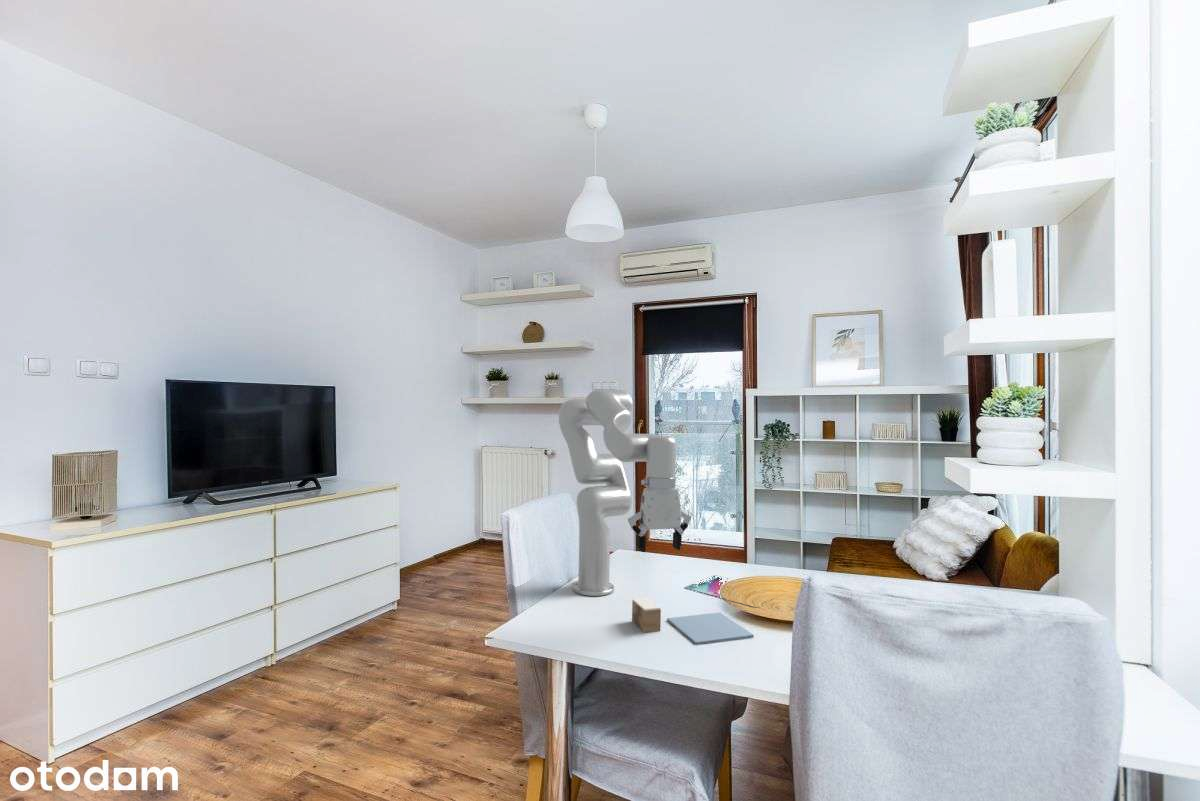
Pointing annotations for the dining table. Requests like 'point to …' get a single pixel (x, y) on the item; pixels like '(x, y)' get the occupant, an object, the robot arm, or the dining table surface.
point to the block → (646, 615)
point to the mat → (709, 628)
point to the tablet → (708, 587)
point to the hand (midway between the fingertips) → (659, 549)
